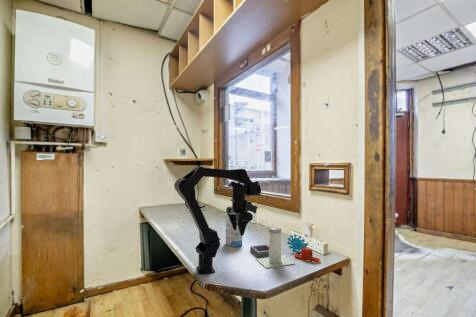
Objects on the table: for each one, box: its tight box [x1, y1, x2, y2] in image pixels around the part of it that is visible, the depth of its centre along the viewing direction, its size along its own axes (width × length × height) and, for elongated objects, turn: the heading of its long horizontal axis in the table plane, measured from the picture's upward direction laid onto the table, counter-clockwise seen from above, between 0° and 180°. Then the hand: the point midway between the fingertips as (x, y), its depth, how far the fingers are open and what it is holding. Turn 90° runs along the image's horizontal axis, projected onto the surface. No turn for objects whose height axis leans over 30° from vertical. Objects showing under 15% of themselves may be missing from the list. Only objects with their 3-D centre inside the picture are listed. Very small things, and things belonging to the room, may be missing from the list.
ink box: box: [225, 216, 243, 248], centre depth 127 cm, size 9×5×15 cm, turn 45°
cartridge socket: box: [249, 244, 269, 259], centre depth 114 cm, size 9×9×2 cm
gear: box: [287, 234, 309, 254], centre depth 119 cm, size 11×6×10 cm
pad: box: [255, 254, 296, 269], centre depth 104 cm, size 10×14×1 cm
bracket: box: [294, 247, 321, 262], centre depth 107 cm, size 12×4×5 cm, turn 55°
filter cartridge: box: [268, 226, 282, 263], centre depth 104 cm, size 6×6×14 cm
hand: (238, 232), depth 103 cm, fingers open, 9 cm apart
